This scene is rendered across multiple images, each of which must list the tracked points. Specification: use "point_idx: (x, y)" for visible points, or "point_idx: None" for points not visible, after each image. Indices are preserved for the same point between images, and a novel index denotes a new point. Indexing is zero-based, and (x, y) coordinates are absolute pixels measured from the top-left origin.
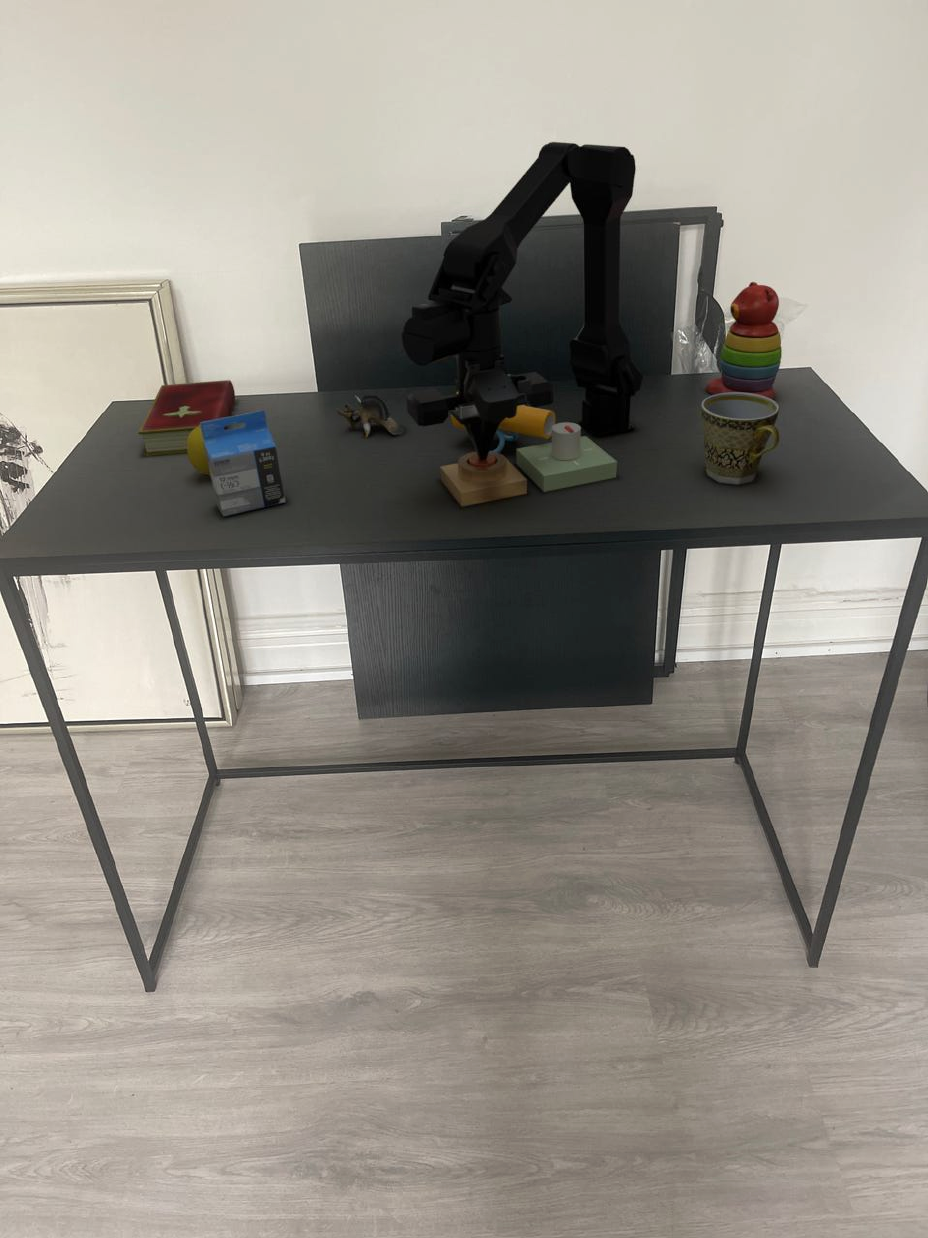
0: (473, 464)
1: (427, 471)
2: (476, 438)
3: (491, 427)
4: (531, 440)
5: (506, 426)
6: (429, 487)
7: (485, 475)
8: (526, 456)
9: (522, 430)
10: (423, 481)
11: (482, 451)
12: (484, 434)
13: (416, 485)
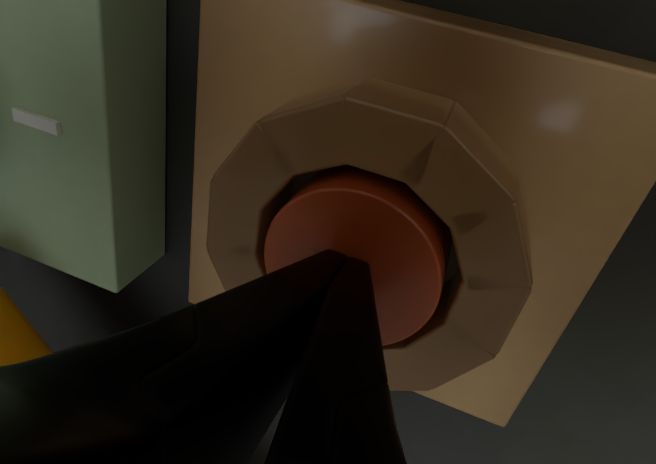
0: (442, 260)
1: (486, 454)
2: (367, 392)
3: (139, 389)
4: (62, 343)
5: None
6: (600, 364)
7: (442, 112)
8: (102, 203)
9: (29, 350)
10: (571, 417)
11: (343, 285)
12: (248, 391)
13: (630, 417)
